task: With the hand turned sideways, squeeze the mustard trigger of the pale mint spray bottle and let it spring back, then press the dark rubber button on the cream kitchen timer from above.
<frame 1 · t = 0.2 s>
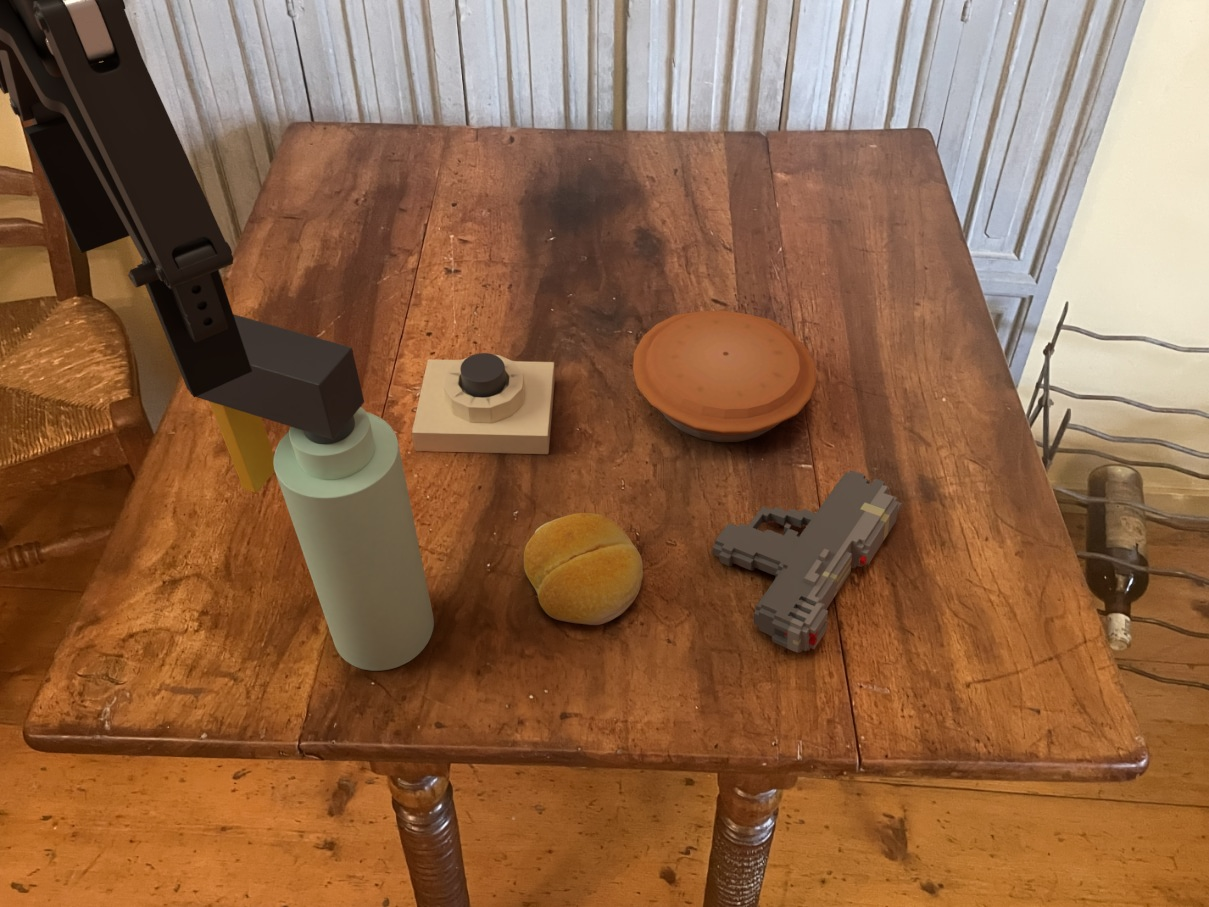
hand: (158, 305, 47), 29 cm above the table, tool pointing down, fingers open, 13 cm apart
bread roll: (582, 579, 73), on the table
timer button: (483, 375, 81), point 5 cm above the table, slide at 0.2 cm
timer: (487, 414, 84), on the table
spray bottle: (383, 627, 69), on the table
toy gun: (792, 558, 74), on the table
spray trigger: (245, 435, 59), point 17 cm above the table, slide at 0.0 cm
pie: (720, 398, 86), on the table
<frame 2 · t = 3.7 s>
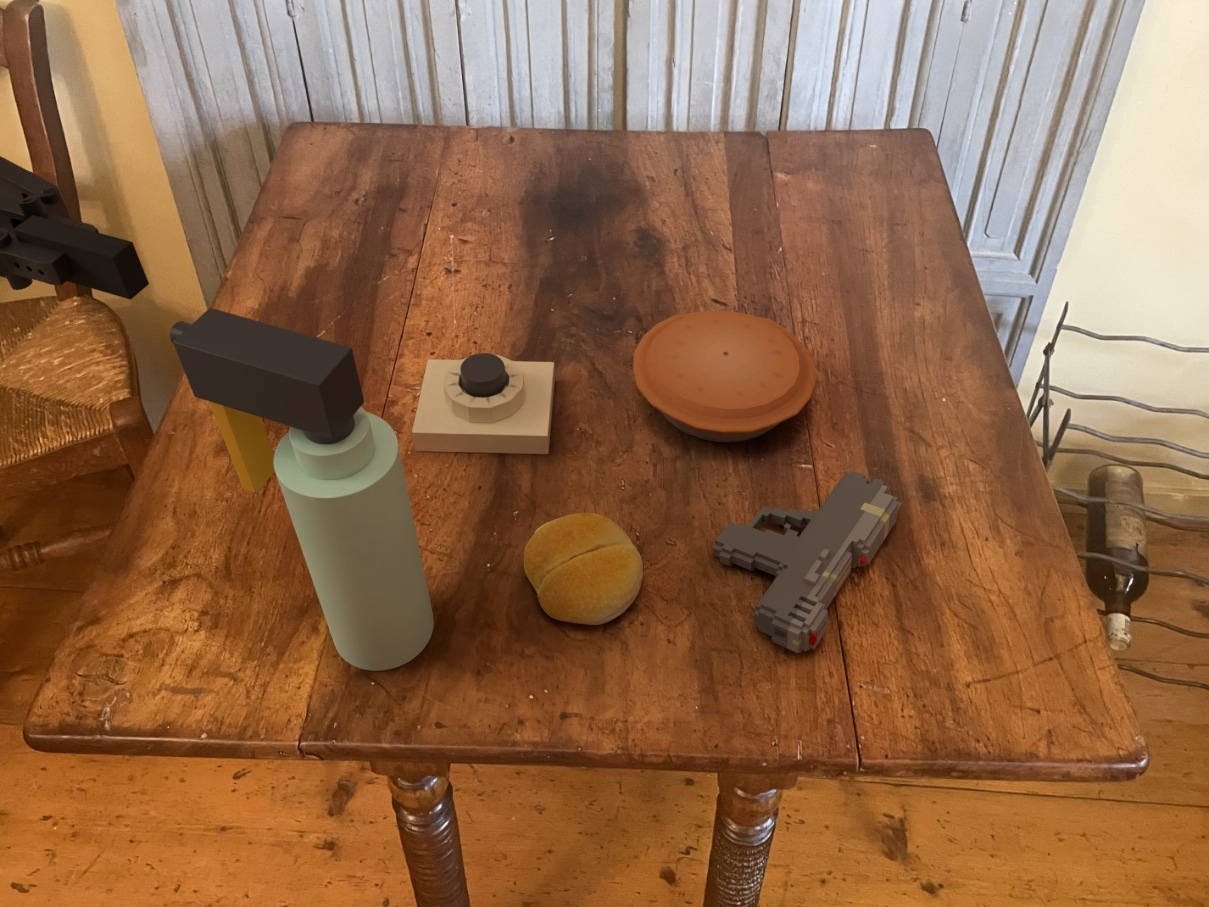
hand: (131, 270, 52), 28 cm above the table, tool horizontal, fingers closed
nothing on the table moved.
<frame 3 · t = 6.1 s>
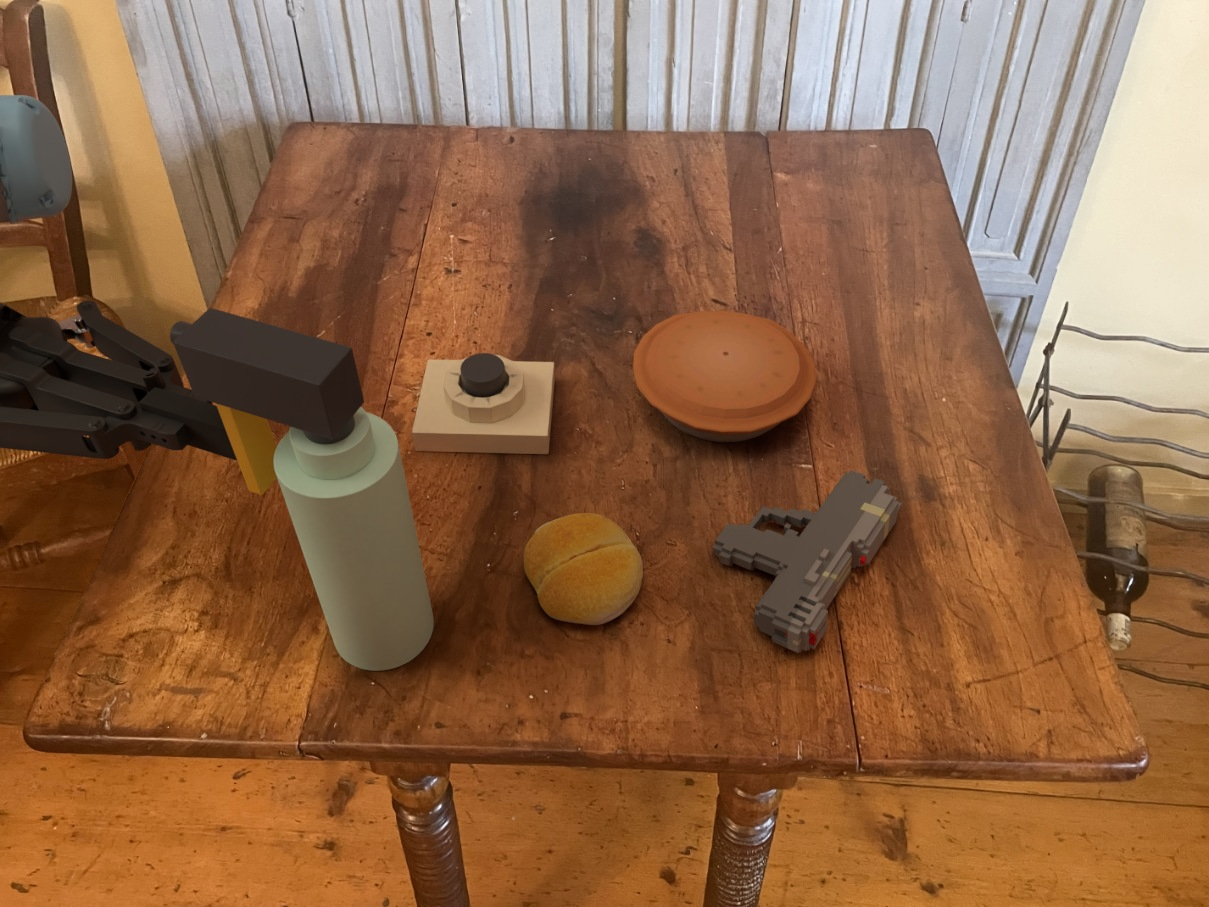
hand: (243, 438, 59), 16 cm above the table, tool horizontal, fingers closed
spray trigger: (251, 437, 59), point 17 cm above the table, slide at 0.4 cm, touching gripper
everything else where it was.
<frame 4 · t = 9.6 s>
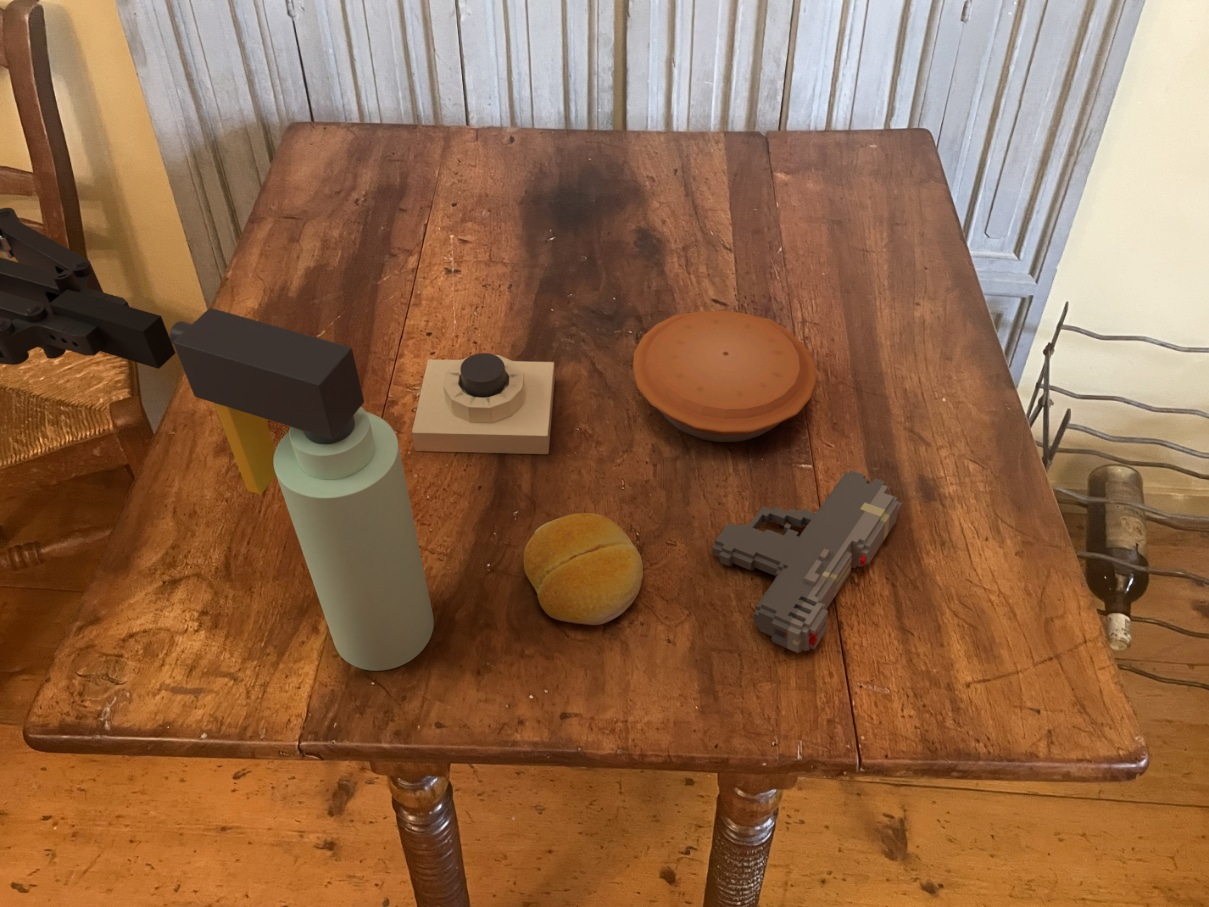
hand: (159, 342, 55), 23 cm above the table, tool horizontal, fingers closed
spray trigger: (249, 436, 59), point 17 cm above the table, slide at 0.3 cm
everything else where it was.
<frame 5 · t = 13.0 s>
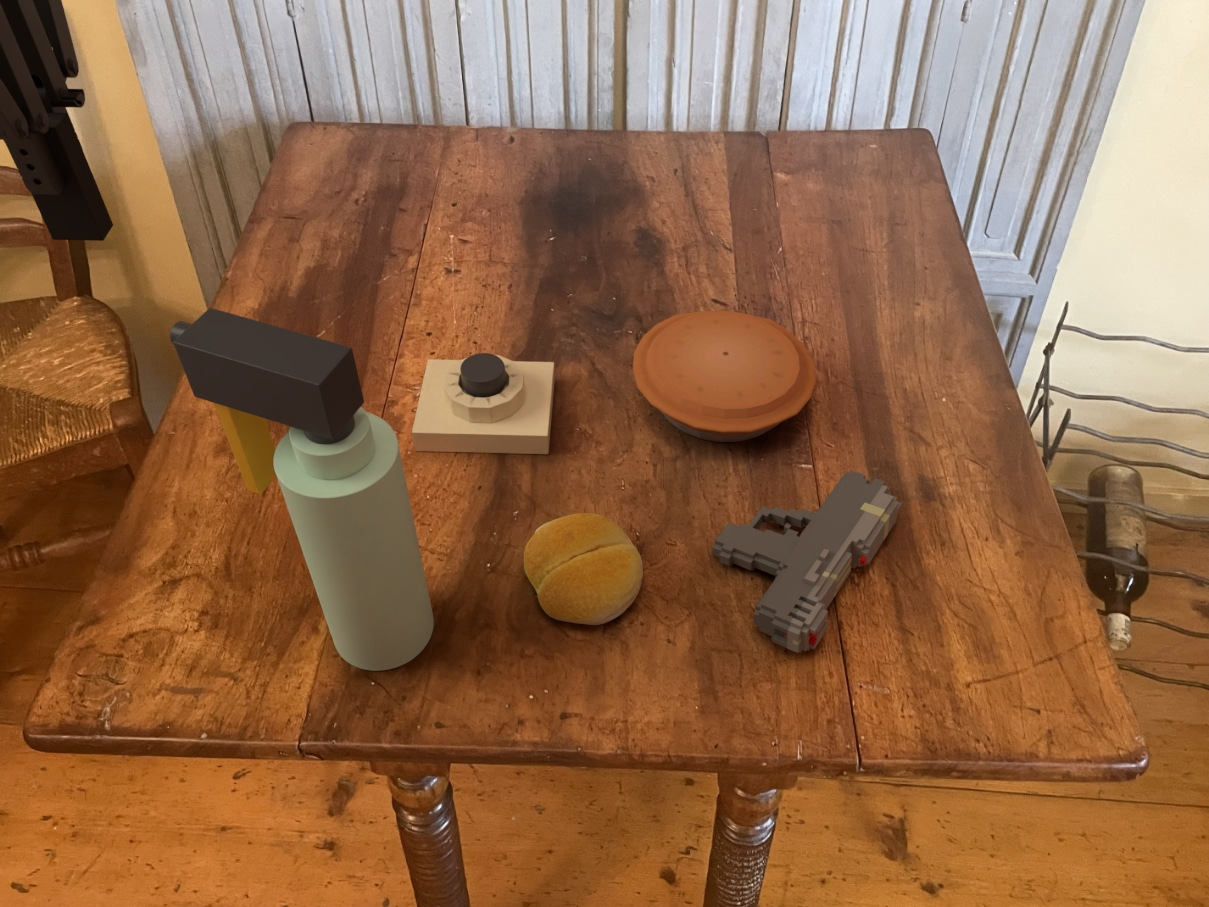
hand: (83, 231, 53), 28 cm above the table, tool pointing down, fingers closed
nothing on the table moved.
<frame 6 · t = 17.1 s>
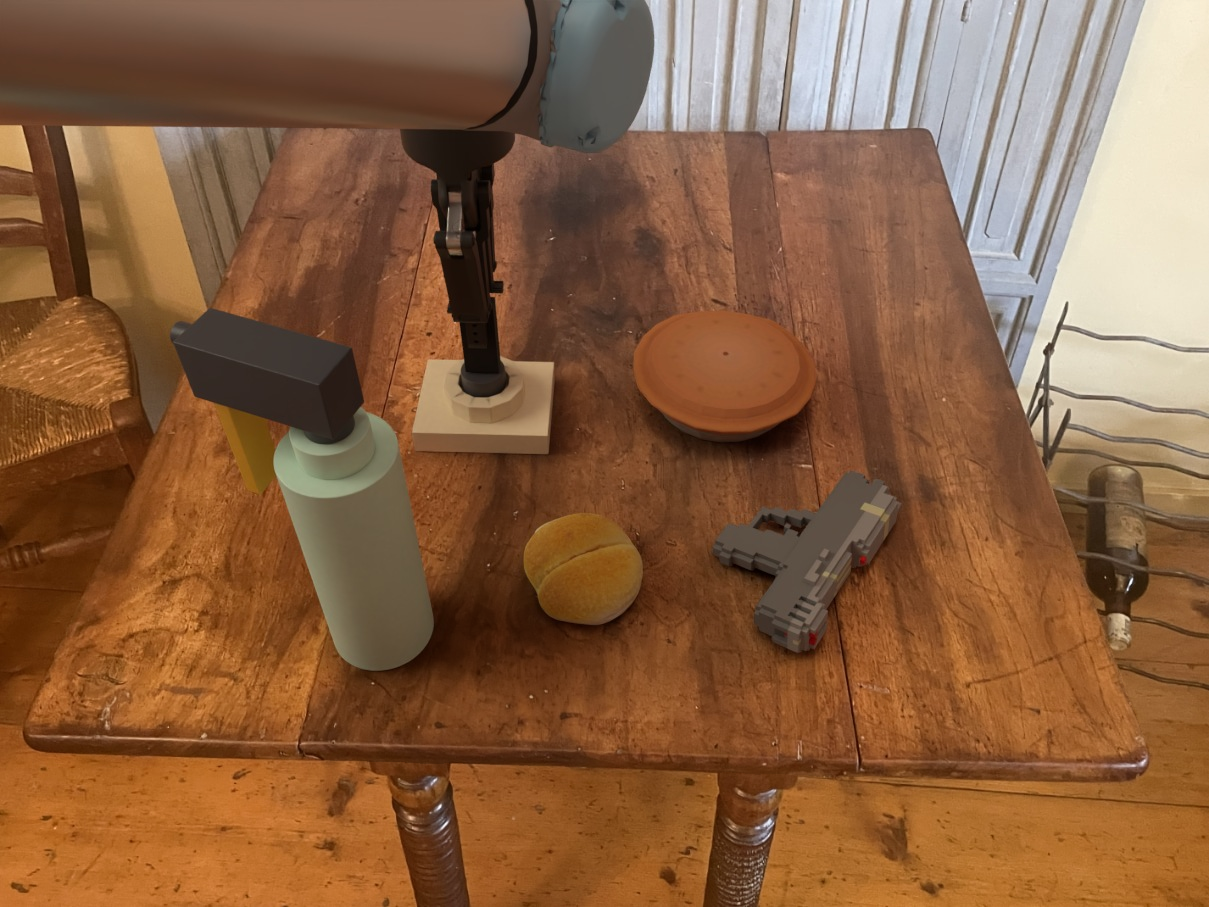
hand: (483, 365, 80), 5 cm above the table, tool pointing down, fingers closed
timer button: (483, 376, 81), point 4 cm above the table, slide at 0.0 cm, touching gripper
everything else where it was.
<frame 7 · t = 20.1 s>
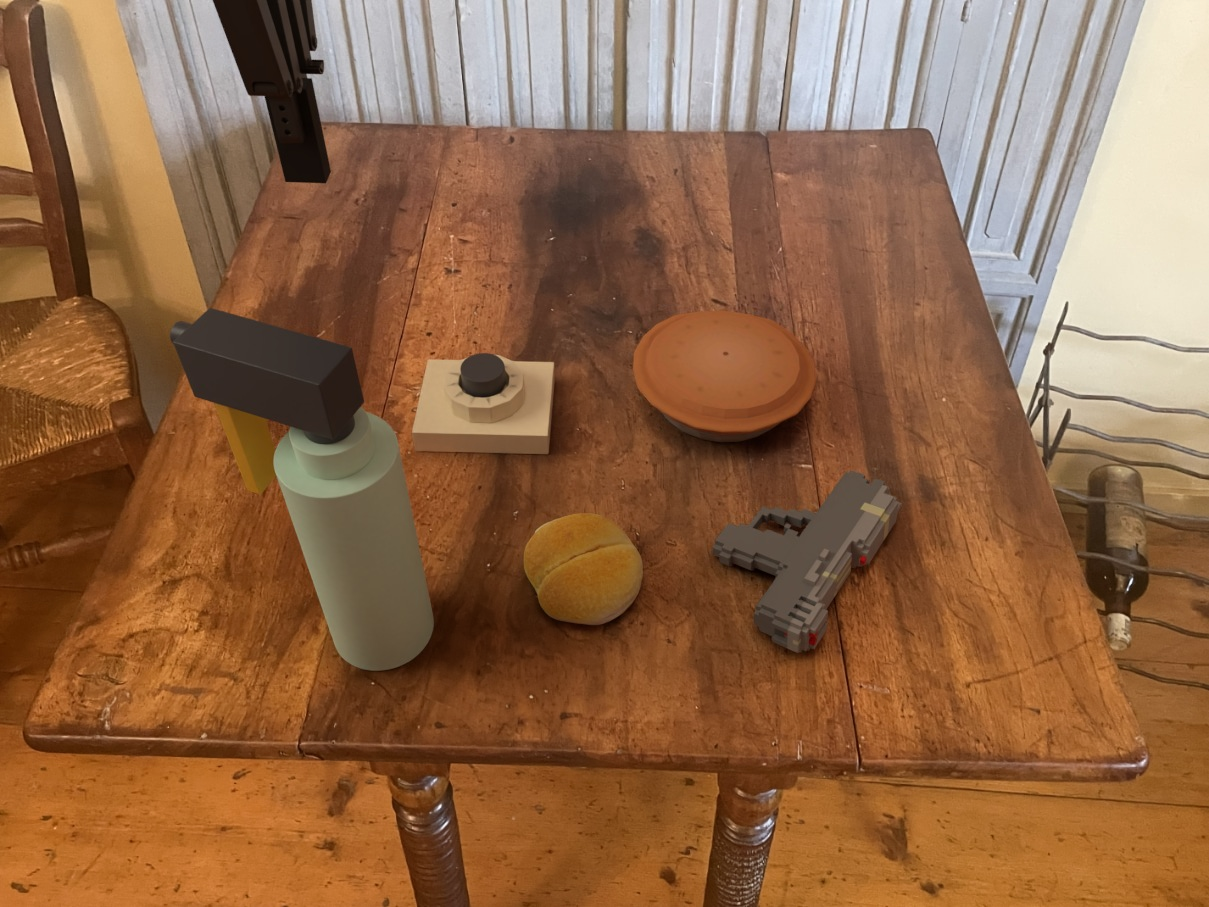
hand: (308, 176, 66), 24 cm above the table, tool pointing down, fingers closed
timer button: (483, 375, 81), point 5 cm above the table, slide at 0.2 cm
everything else where it was.
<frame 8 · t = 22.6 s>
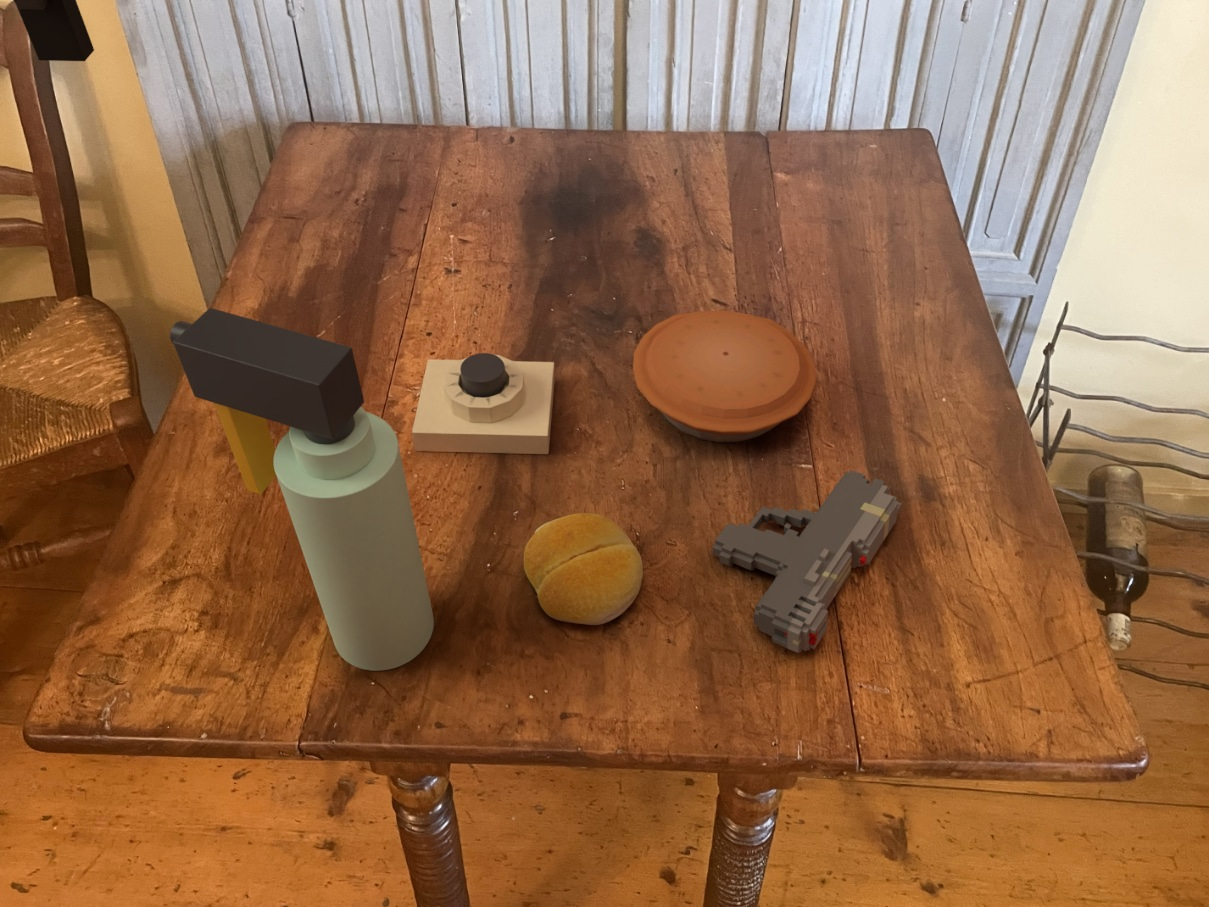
hand: (66, 54, 58), 32 cm above the table, tool pointing down, fingers closed
nothing on the table moved.
at the end: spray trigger pulled out 1.6 cm at the most during the clip, back to 0.3 cm at the end; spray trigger slide at 0.3 cm; timer button pushed in 1.0 cm at the most during the clip, back to 0.2 cm at the end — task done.
